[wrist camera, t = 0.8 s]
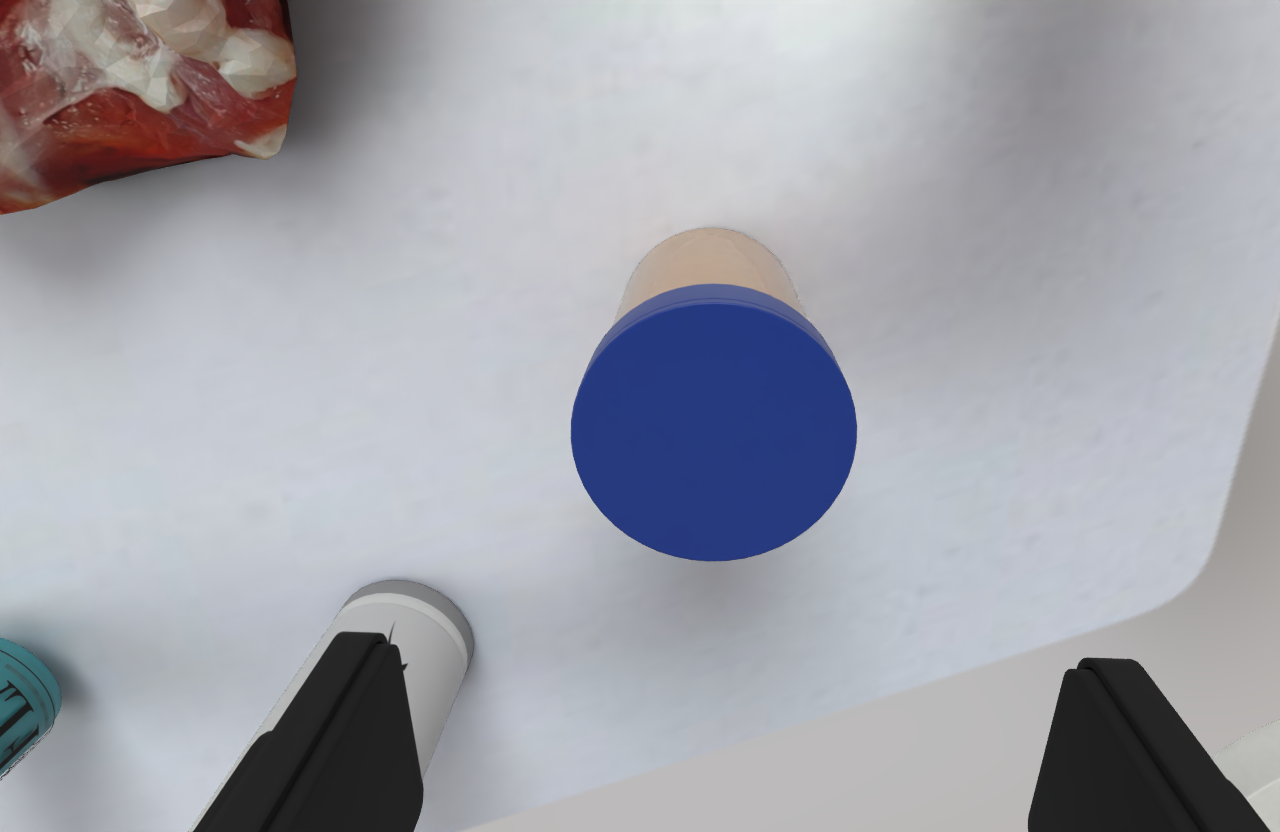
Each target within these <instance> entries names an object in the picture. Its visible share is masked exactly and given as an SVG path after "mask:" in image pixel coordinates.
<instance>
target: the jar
mask: <svg viewBox="0 0 1280 832" xmlns="http://www.w3.org/2000/svg"><path fill="white" fill-rule="evenodd" d="M713 283H715V284H730V285H736V286H742V287H747V288H751V289H754V290H757V291H760V292H763V293H766V294H768V295H770V296H772V297H774V298H776V299H779V300H781V301H783V302H784V303H786V304H787V305H789V306H790V307H792V308H793V309H795V310H796V311H798V312H799V313H800V314H801V315H802V316H803V317H805V318H806V319H807V317H806V315H805V313H804V310H803V308H802V306H801V304H800V301H799V299H798V297H797V295H796V292H795V290H794V288H793V285H792V283H791V281H790V279H789V276H788V274H787V272H786V271H785V269H784V267H783V266H782V264H781V263H780V262H779V260H778V259H777V258H776V257H775V256H774V254H773V253H771V252H770V251H769V250H768V249H767V248H766V247H765V246H763V245H762V244H760V243H759V242H757V241H756V240H754V239H752V238H750V237H748V236H746V235H744V234H741V233H738V232H735V231H731V230H726V229H718V228H703V229H695V230H690V231H686V232H683V233H680V234H677V235H675V236H673V237H671V238H669V239H667V240H665V241H663V242H662V243H661V244H659V245H658V246H656V247H655V248H654V249H653V250H651V251H650V252H649V253H648V254H647V255H646V256H645V257H644V259H643V260H642V261H641V262H640V263H639V265H638V266H637V268H636V269H635V271H634V272H633V274H632V276H631V278H630V281H629V283H628V285H627V288H626V291H625V293H624V296H623V299H622V301H621V304H620V307H619V309H618V312H617V315H616V317H615V320H614V323H613V325H612V327H613V326H614V325H615V323H616V322H617V321H619V320H620V319H621V318H622V317H623V316H624V315H626V314H627V313H628V312H629V311H630V310H632V309H633V308H635V307H637V306H638V305H640V304H641V303H643V302H644V301H646V300H648V299H650V298H652V297H655V296H657V295H659V294H661V293H664V292H667V291H670V290H673V289H676V288H680V287H686V286H691V285H697V284H713ZM807 320H808V319H807Z"/></svg>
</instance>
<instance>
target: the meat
mask: <svg viewBox="0 0 1280 832" xmlns="http://www.w3.org/2000/svg"><path fill="white" fill-rule="evenodd" d="M296 79H297V71H296V61H295V53H294V46H293V39H292V31H291V24H290V17H289V9H288V2H287V0H0V215H2V214H7V213H13V212H18V211H23V210H28V209H34V208H37V207H40V206H42V205H45V204H48V203H50V202H53V201H55V200H58V199H61V198H63V197H66V196H68V195H71V194H74V193H76V192H78V191H80V190H83V189H85V188H87V187H90V186H93V185H96V184H99V183H102V182H106V181H112V180H116V179H120V178H124V177H127V176H131V175H135V174H138V173H142V172H146V171H150V170H155V169H160V168H165V167H169V166H174V165H179V164H184V163H189V162H194V161H198V160H203V159H210V158H217V157H223V156H227V155H231V154H235V155H239V156H244V157H251V158H258V159H266V160H268V159H269V158H271V157H272V156H274V155H275V154H277V153H278V152H279V150H280V147H281V145H282V143H283V140H284V138H285V136H286V131H287V125H288V119H289V113H290V107H291V101H292V97H293V92H294V88H295V84H296Z"/></svg>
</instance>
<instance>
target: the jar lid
mask: <svg viewBox="0 0 1280 832" xmlns="http://www.w3.org/2000/svg"><path fill="white" fill-rule="evenodd" d="M856 443H857V422H856V413H855V407H854V403H853V400H852V396H851V392H850V390H849V388H848V385H847V383H846V381H845V378H844V376H843V374H842V372H841V370H840V368H839V366H838V364H837V361H836V359H835V357H834V355H833V353H832V351H831V349H830V348H829V346H828V345H827V343H826V341H825V340H824V338H823V337H822V336H821V334H820V333H819V332H818V331H817V330H816V328H815V327H814V326H813V325H812V324H811V323H810V322H809V321H808V320H807V319H806V318H805V317H803V316H802V315H801V314H800V313H799V312H798V311H796V310H795V309H793V308H792V307H790V306H789V305H787V304H786V303H784V302H783V301H781V300H779V299H776V298H774V297H772V296H770V295H768V294H766V293H763V292H760V291H757V290H754V289H751V288H747V287H742V286H736V285H730V284H715V283H713V284H697V285H691V286H686V287H680V288H676V289H673V290H670V291H667V292H664V293H661V294H659V295H657V296H655V297H652V298H650V299H648V300H646V301H644V302H643V303H641V304H640V305H638V306H637V307H635V308H633V309H632V310H630V311H629V312H628V313H627V314H626V315H624V316H623V317H622V318H621V319H620V320H619V321H617V322H616V323H615V325H614V326H613V327H612V328H611V329H610V330H609V331H608V333H607V334H606V335H605V336H604V338H603V339H602V341H601V342H600V344H599V345H598V347H597V348H596V350H595V352H594V354H593V356H592V358H591V360H590V362H589V365H588V367H587V370H586V372H585V374H584V377H583V379H582V382H581V384H580V387H579V389H578V393H577V396H576V399H575V402H574V406H573V412H572V419H571V444H572V452H573V457H574V461H575V464H576V468H577V471H578V474H579V476H580V478H581V481H582V483H583V485H584V487H585V489H586V491H587V492H588V494H589V496H590V497H591V499H592V501H593V502H594V503H595V504H596V506H597V507H598V508H599V510H600V511H601V512H602V513H603V514H604V515H605V516H606V517H607V518H608V519H609V520H610V521H611V522H612V523H613V524H614V525H615V526H616V527H617V528H619V529H620V530H621V531H623V532H624V533H625V534H626V535H628V536H629V537H631V538H633V539H634V540H636V541H638V542H640V543H641V544H643V545H645V546H647V547H650V548H652V549H654V550H656V551H659V552H662V553H665V554H668V555H671V556H675V557H679V558H685V559H690V560H699V561H729V560H736V559H744V558H748V557H752V556H755V555H759V554H762V553H765V552H768V551H770V550H773V549H776V548H778V547H780V546H782V545H784V544H786V543H787V542H789V541H791V540H793V539H795V538H796V537H797V536H799V535H800V534H802V533H803V532H805V531H806V530H807V529H809V528H810V527H811V526H812V525H813V524H814V523H815V522H817V521H818V520H819V519H820V518H821V517H822V516H823V514H824V513H825V512H826V511H827V510H828V509H829V508H830V506H831V505H832V504H833V502H834V501H835V499H836V498H837V496H838V495H839V493H840V492H841V490H842V488H843V486H844V484H845V482H846V480H847V478H848V475H849V472H850V469H851V466H852V463H853V460H854V454H855V449H856Z"/></svg>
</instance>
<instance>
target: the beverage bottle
mask: <svg viewBox="0 0 1280 832" xmlns="http://www.w3.org/2000/svg"><path fill="white" fill-rule="evenodd" d="M60 707H61V693H60V689H59V686H58V684H57V682H56V680H55V678H54V676H53V675H52V673H51V672H50V671H49V670H48V668H47V667H46V666H45V665H44V664H43V663H42V662H41V661H40V660H39V659H38V658H37V657H35V656H34V655H33V654H32V653H30V652H29V651H27V650H26V649H24V648H23V647H21V646H19V645H17V644H15V643H13V642H11V641H9V640H6V639H4V638H0V776H1V775H2V774H3V773H4V772H5V771H6V770H7V769H8V768H9V767H10V766H11V765H12V764H13V763H14V762H15V761H16V760H17V759H18V758H19V757H20V756H21V755H22V754H23V753H24V752H25V751H26V750H27V749H29V748H30V747H31V746H32V745H34V743H35V742H36V741H37V740H38V739H39V738H40V737H41V736H42V735H43V734H44V733H45V732H46V731H47V730H48V729H49V728H50V726H51V725H52V723H53V724H54V720H55V718H56V716H57V715H58V713H59V710H60ZM52 727H53V725H52ZM52 727H51V729H52ZM49 732H50V731H49ZM47 733H48V732H47ZM47 733H46V734H47ZM46 734H45V735H46ZM45 735H44V736H45ZM47 735H48V734H47ZM44 736H43V737H44ZM43 737H42V738H43ZM42 738H41V739H42ZM41 739H40V740H41ZM43 739H44V738H43ZM40 740H39V741H38V742H39V743H40V742H41V741H40ZM38 742H37V743H38ZM37 743H35V745H36V744H37ZM39 743H38V744H39ZM34 748H35V747H34ZM34 748H33V749H34ZM33 749H32V750H33ZM25 754H26V753H25ZM25 754H23V755H25ZM23 755H22V756H23ZM23 757H24V756H23ZM23 757H22V758H23ZM18 760H19V759H18ZM21 760H22V759H21ZM21 760H20V761H21ZM16 763H17V762H16ZM14 766H15V765H14ZM14 766H12V767H14ZM12 767H10V768H12ZM10 768H9V769H10ZM9 771H10V770H8V771H7V772H8V773H9ZM7 772H6V773H7ZM6 773H5V774H4V775H3V776H5V775H7V774H8V773H7V774H6ZM3 776H2V777H3ZM2 777H1V778H2ZM1 778H0V779H1ZM1 780H2V779H1Z"/></svg>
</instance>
